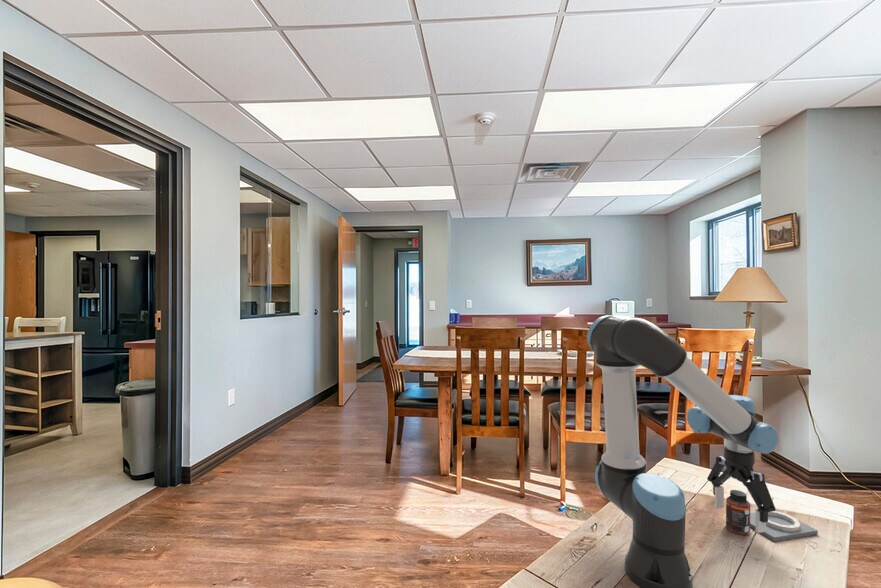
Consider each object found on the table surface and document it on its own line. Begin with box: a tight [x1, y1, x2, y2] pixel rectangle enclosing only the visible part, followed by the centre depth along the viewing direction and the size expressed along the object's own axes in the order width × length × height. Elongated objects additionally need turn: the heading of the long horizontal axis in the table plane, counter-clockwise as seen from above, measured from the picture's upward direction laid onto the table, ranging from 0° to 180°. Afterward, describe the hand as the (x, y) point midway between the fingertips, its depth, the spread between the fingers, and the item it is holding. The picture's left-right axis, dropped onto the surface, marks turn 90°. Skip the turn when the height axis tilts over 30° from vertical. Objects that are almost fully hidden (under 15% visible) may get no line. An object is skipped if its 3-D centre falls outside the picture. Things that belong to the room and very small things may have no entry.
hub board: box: [750, 509, 819, 543], centre depth 129 cm, size 16×12×2 cm
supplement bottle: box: [725, 489, 751, 536], centre depth 127 cm, size 6×6×11 cm
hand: (738, 518), depth 127 cm, fingers open, 13 cm apart
